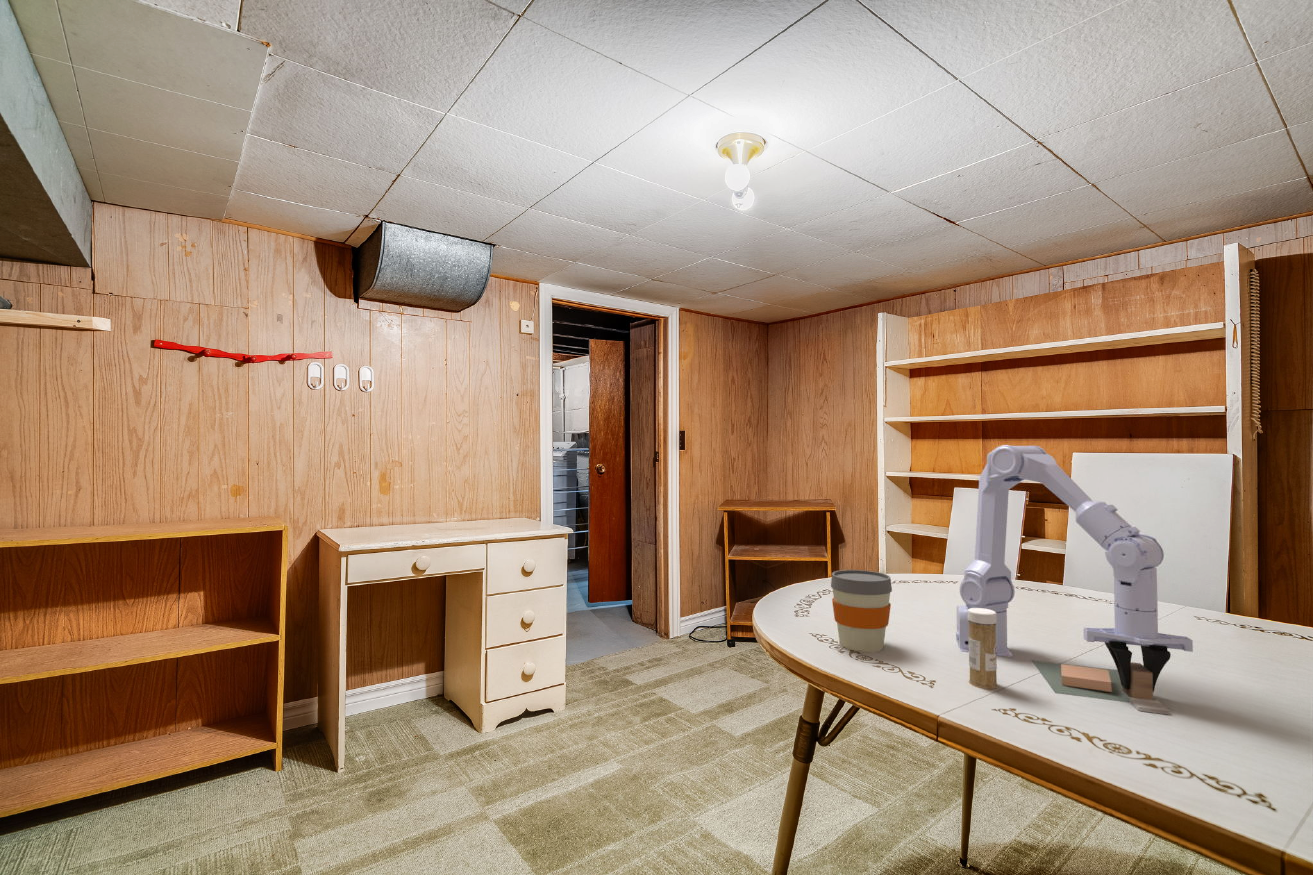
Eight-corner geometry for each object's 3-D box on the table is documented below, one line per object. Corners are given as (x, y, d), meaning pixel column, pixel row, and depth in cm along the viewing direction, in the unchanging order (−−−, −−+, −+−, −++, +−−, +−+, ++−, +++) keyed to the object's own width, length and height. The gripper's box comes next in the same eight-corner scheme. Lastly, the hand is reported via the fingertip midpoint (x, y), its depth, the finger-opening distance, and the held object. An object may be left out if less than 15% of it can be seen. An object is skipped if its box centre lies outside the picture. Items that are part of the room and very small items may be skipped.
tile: (1061, 673, 111) (1062, 686, 105) (1061, 664, 111) (1061, 675, 105) (1108, 680, 107) (1111, 693, 101) (1108, 669, 107) (1111, 682, 101)
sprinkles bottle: (1000, 692, 103) (999, 614, 103) (971, 689, 104) (970, 612, 104) (994, 682, 107) (993, 608, 107) (966, 679, 108) (965, 605, 109)
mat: (1055, 695, 102) (1055, 692, 102) (1031, 662, 117) (1031, 660, 117) (1163, 708, 96) (1163, 706, 96) (1123, 672, 112) (1123, 670, 112)
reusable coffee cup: (892, 658, 120) (891, 583, 120) (828, 650, 124) (827, 578, 125) (892, 640, 131) (892, 572, 132) (833, 633, 136) (833, 567, 136)
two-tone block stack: (1117, 689, 103) (1116, 660, 103) (1145, 693, 102) (1145, 663, 102) (1138, 710, 95) (1137, 679, 95) (1169, 714, 93) (1168, 682, 93)
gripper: (1092, 609, 99) (1093, 690, 99) (1201, 617, 94) (1203, 704, 94) (1079, 599, 106) (1080, 676, 105) (1180, 607, 101) (1182, 687, 100)
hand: (1137, 688), depth 100 cm, fingers closed on two-tone block stack, 3 cm apart
